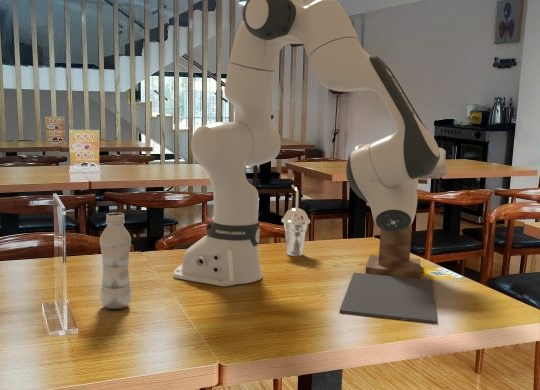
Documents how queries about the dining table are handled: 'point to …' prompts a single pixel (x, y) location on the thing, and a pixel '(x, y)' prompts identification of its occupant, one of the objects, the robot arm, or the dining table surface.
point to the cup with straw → (295, 228)
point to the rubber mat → (390, 297)
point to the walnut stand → (395, 254)
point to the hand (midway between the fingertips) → (400, 140)
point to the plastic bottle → (115, 263)
